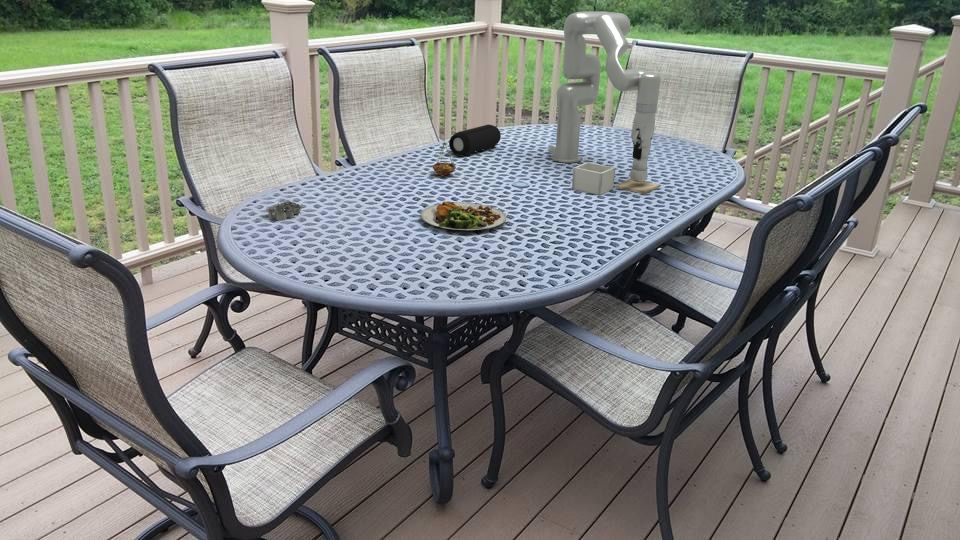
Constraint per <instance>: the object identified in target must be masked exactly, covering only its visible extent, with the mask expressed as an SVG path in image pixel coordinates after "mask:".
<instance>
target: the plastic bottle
mask: <svg viewBox="0 0 960 540" xmlns="http://www.w3.org/2000/svg"><path fill="white" fill-rule="evenodd" d="M638 139H641V138H638ZM637 142H639V141H637ZM639 144H640V142H639ZM651 146H652V139H651V140H650V138H647V139H646V140H644V141H643V143H642V146H641V148H642V153H641V159H635V158H633V161H632V165H631V169H630V172H629V179H631V180H632V181H635V182H644V181H645V182H646V181H647V178H648V161H649V156H650V153H649V151H650V150H651Z"/></svg>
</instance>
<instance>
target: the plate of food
mask: <svg viewBox="0 0 960 540" xmlns="http://www.w3.org/2000/svg"><path fill="white" fill-rule="evenodd" d="M420 217H421V219H422V220H423V221H424V222H426V224H429V225H431V226H436V227H439V228H441V229H448V230H454V231H455V230H458V231H476V230H477V231H479V230H485V229H492V228H495V227H497V226H500V225H502V224H504V223H505V221H506V220H507V218H508V217H507V214H506V213H505V212H503V211H502V210H500V209H499V208H497V207H493V206H490V205H487V204H481V203H476V202H475V203H474V202H464V201H463V202H461V201H459V202H458V201H455V202H454V201H452V202H451V201H445V200H443V202H442V203H441V202H440V203H437V204H433V205H430V206H427V207H425V208H423V209H422V210H421V212H420Z"/></svg>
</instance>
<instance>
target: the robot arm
mask: <svg viewBox="0 0 960 540" xmlns="http://www.w3.org/2000/svg"><path fill="white" fill-rule="evenodd" d="M630 21H631V20H630V18H629V17H628V16H627V14H625V13H622V12H614V11H613V12H611V11H602V10H601V11H590V10H589V11H577V12H573V13H570V14H569V15H568V16H567V17H566V19H565V20H564V24H563V34H564V35H563V37H564V48H563V49H564V50H563V61H562V74H563V77H564V78H566V80H567V79H568V80H582V81H572V82H565V83H562V84H561V85H560V86H559V87H558V88H557V91H556V103H557V123H556V124H557V125H556V137H555V138H556V140H555V146H553V145H552V146H551V145H549V146H548V148H547V152H550V153H552V154H551V157H550V158H551V160H552V161H555V162H557V161H558V162H559V163H564V164H565V163H566V164H572V163H573V164H574V163H579V162H581V161H582V156H581V155H580V154H579V148H580V147H579V145H580V137H581V136H580V135H581V133H580V132H581V122H582V117H581V116H582V115H581V112H580V111H579V109H578V107H580V106H590V105H593V104H594V103H595V102H596V101H597V100H598V97H599V91H600V81H601V74H602V71H601V70H602V69H601V68H602V67H601V62H600V60H599V58H598V57H597V56H596V55H595V54H591V53H588V54H586V49H587V42H586V39H585V37H584V35H596V36H597V38H598V41H600V43H601V45H602V47H603V50H605V53H606V54H607V57H606V58H605V73H606V76H607V77H608V79H609V81H610V83H611V84H612V86H613V87H614V89H616V90H617V91H619V92H630V91H635V92H636V91H637V92H636V93H637V94H636V102H635V103H636V104H635V113H634V116H633V123H632V127H631V135H630V138H631V141H632V148H633V149H632V158H633V159H634V158H635V159H641V153H642V148H641V146H642V143H643V141H644V140H646V139H647V138H650V140H651V141H652V139H653V136H654V134H655V133H654V132H655V129H656V114H657V112H658V111H657V110H658V103H659V95H660V87H661V75H660V74H659V73H656V72H650V71H648V70H646V69H644V68H636V69H635V68H634V69H623V67H622V65H621V64H620V62H619V58H620V57H622V56H623V55H624V54H625V53H626V52H627V51H628V49H629V45H630V44H629V41H628V39H627V38H626V35H628V34H629V32H630V30H631V22H630ZM638 138H641V139H638ZM637 141H639V142H640V144H639V142H637ZM649 154H650V151H649Z"/></svg>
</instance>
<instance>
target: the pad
mask: <svg viewBox="0 0 960 540" xmlns="http://www.w3.org/2000/svg"><path fill="white" fill-rule="evenodd" d="M615 188H616V189H621V190H625V191H628V190H629V192H634V193H639V194H643V195H647V194H649V193H650V192H653V191H654V190H657V189H658V188H660V184H658V183H654V182H650V181H646V180H645V181H644V182H635V181H632V180H631V178H629V179H627V180H625V181H622V182H620V183H618V184H616V185H615Z"/></svg>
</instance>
